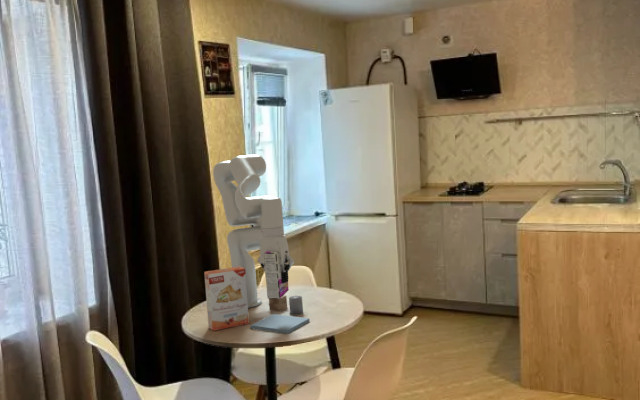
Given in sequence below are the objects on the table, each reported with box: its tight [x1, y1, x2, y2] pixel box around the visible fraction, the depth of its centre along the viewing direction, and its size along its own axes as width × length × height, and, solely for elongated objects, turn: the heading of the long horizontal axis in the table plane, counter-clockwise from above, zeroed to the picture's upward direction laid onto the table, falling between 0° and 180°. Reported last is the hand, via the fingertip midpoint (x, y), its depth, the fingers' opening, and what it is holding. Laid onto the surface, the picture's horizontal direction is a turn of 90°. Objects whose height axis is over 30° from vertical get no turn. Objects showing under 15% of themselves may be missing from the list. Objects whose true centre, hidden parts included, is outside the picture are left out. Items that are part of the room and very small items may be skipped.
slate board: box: [250, 313, 311, 334], centre depth 205 cm, size 16×14×1 cm
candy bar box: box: [264, 251, 290, 300], centre depth 203 cm, size 11×5×16 cm, turn 167°
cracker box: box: [203, 266, 250, 332], centre depth 207 cm, size 14×6×21 cm, turn 117°
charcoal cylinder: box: [288, 295, 304, 316], centre depth 219 cm, size 5×5×6 cm
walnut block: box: [268, 294, 288, 312], centre depth 226 cm, size 5×5×5 cm
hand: (277, 281), depth 203 cm, fingers closed on candy bar box, 6 cm apart
